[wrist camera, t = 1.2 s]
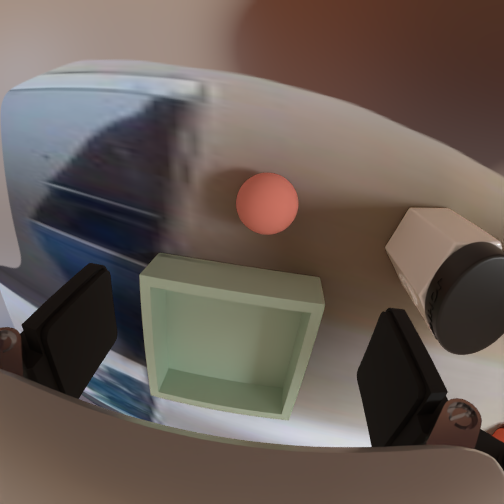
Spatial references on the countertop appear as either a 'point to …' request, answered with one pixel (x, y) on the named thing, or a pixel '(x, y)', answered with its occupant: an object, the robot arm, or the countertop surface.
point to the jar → (451, 277)
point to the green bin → (228, 334)
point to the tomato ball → (267, 203)
